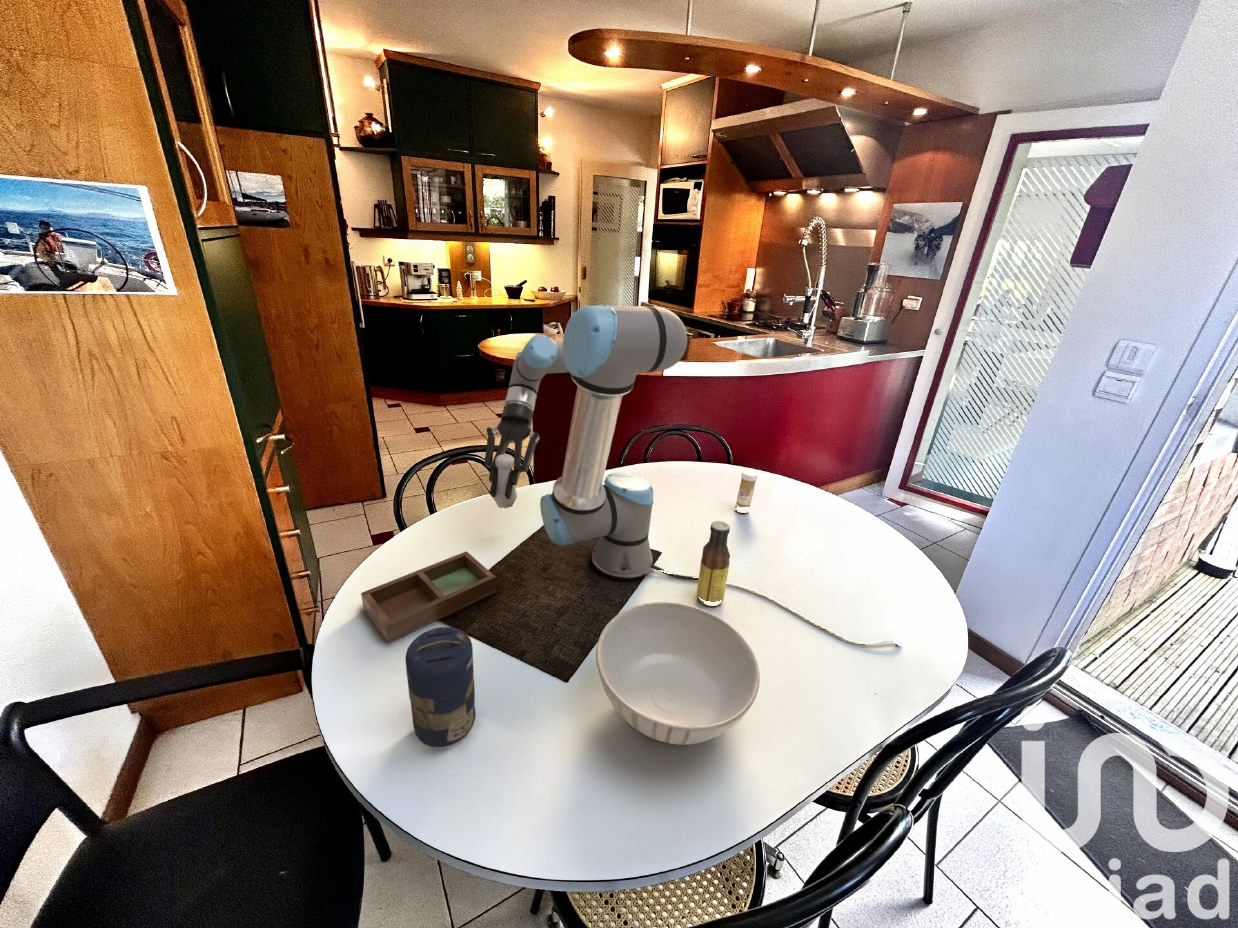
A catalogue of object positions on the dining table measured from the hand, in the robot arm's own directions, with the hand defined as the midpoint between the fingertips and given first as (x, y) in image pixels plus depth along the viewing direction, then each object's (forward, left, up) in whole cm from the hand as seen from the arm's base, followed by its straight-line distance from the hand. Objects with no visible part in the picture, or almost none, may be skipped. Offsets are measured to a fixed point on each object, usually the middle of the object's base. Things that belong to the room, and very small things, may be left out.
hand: (499, 496), depth 116 cm
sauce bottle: (-45, -27, -16) cm, 55 cm away
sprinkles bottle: (-27, -70, -16) cm, 77 cm away
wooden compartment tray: (-6, +21, -16) cm, 27 cm away
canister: (-35, +33, -16) cm, 51 cm away
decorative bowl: (-57, +3, -16) cm, 59 cm away
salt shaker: (+2, -3, -4) cm, 6 cm away
